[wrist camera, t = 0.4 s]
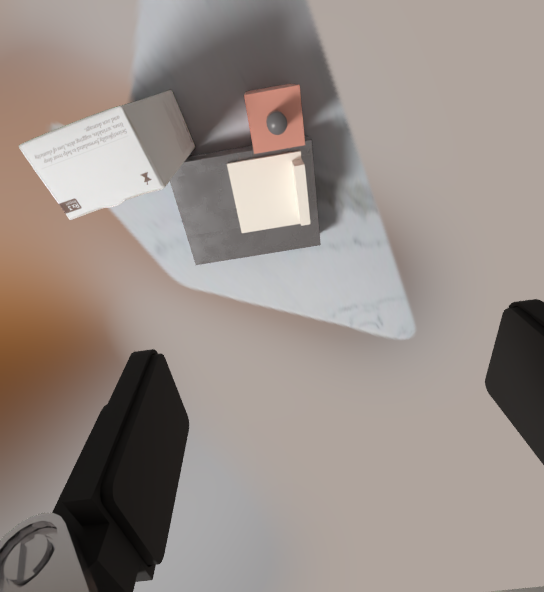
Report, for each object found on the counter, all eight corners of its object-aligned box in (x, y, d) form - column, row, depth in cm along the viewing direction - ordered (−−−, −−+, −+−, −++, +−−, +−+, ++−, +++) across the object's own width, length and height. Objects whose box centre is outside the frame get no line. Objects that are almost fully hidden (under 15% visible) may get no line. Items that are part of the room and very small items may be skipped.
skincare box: (172, 88, 34) (125, 95, 21) (198, 150, 37) (170, 188, 24) (97, 118, 35) (9, 140, 22) (128, 176, 38) (67, 224, 25)
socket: (171, 159, 37) (165, 165, 35) (307, 135, 37) (311, 140, 34) (199, 254, 43) (195, 265, 41) (316, 235, 43) (320, 244, 40)
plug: (245, 91, 34) (243, 96, 26) (290, 83, 34) (302, 85, 26) (253, 139, 37) (254, 158, 28) (295, 132, 36) (308, 149, 28)
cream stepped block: (227, 163, 35) (225, 169, 32) (300, 150, 34) (303, 156, 32) (241, 231, 39) (241, 242, 36) (307, 220, 38) (311, 230, 36)
